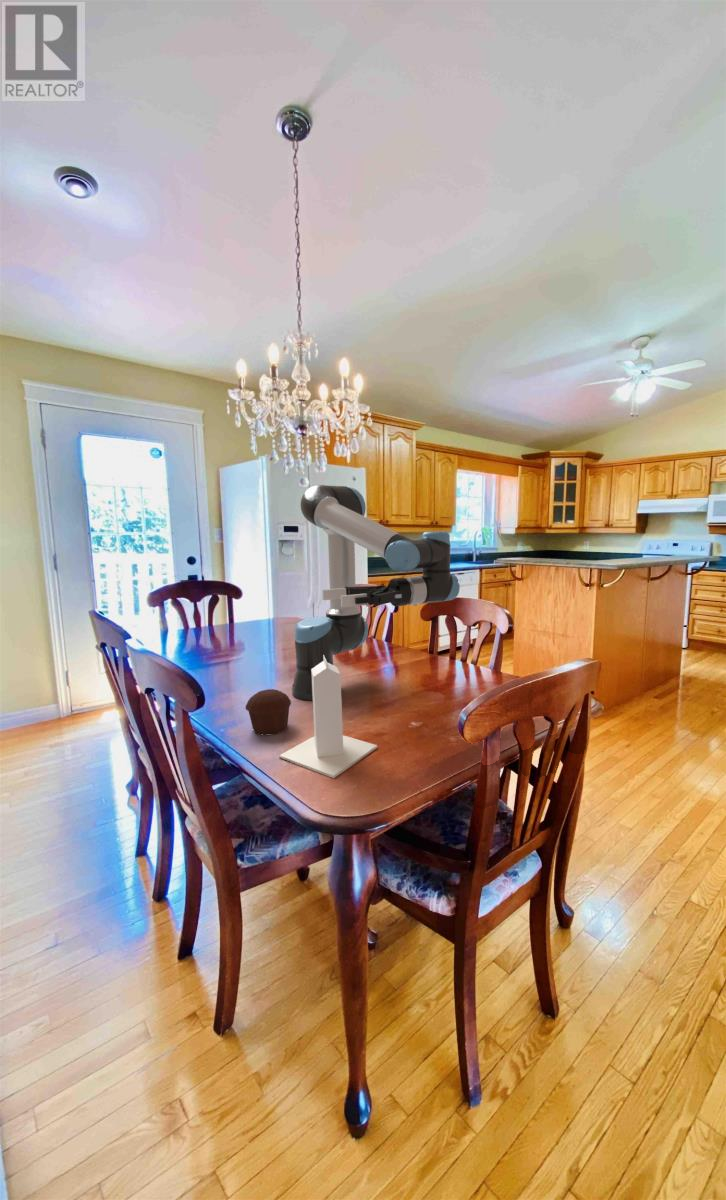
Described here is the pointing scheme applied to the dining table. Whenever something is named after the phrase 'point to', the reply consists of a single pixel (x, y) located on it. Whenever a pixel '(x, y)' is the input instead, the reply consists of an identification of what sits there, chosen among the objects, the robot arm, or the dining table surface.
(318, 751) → the milk
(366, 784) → the dining table surface
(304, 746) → the mat
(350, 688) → the dining table surface
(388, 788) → the dining table surface
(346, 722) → the dining table surface
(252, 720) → the muffin
